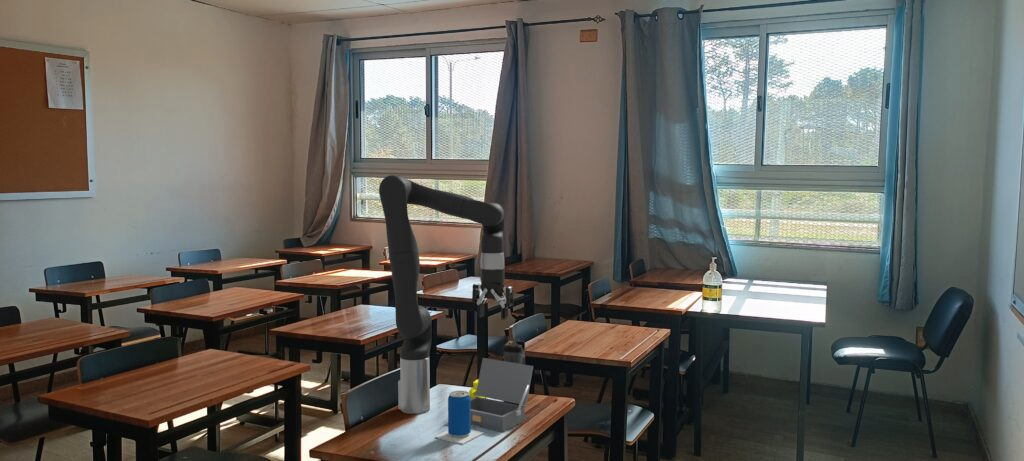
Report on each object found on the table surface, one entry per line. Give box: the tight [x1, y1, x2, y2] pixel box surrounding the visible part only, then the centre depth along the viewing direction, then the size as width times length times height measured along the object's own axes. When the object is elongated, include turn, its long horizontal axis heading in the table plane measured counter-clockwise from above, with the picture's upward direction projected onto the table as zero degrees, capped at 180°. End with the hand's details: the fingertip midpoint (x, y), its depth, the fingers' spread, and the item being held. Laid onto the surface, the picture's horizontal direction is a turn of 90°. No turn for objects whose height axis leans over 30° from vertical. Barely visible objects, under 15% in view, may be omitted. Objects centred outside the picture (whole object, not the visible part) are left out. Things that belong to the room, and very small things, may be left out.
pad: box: [434, 429, 485, 446], centre depth 207 cm, size 10×10×1 cm
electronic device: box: [503, 339, 526, 405], centre depth 236 cm, size 9×6×20 cm, turn 168°
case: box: [471, 357, 534, 433], centre depth 220 cm, size 19×17×16 cm
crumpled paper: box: [468, 378, 487, 399], centre depth 237 cm, size 6×8×8 cm
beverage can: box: [447, 390, 472, 438], centre depth 206 cm, size 6×6×12 cm
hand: (492, 317), depth 226 cm, fingers open, 8 cm apart
